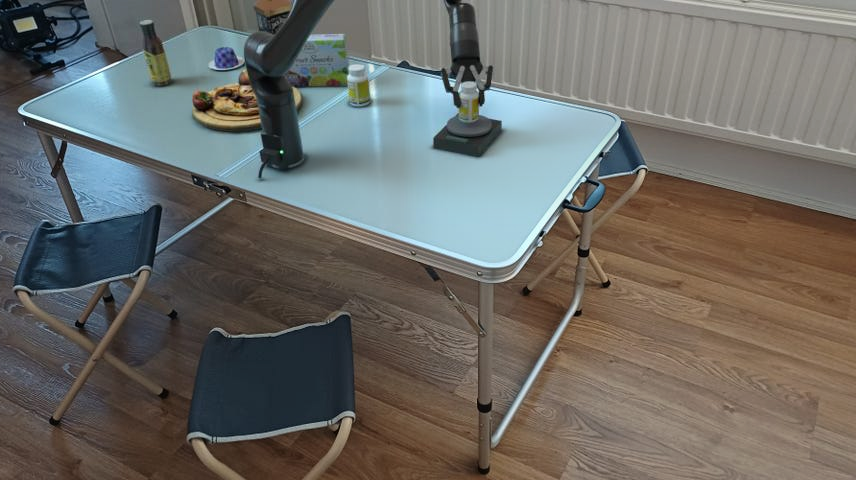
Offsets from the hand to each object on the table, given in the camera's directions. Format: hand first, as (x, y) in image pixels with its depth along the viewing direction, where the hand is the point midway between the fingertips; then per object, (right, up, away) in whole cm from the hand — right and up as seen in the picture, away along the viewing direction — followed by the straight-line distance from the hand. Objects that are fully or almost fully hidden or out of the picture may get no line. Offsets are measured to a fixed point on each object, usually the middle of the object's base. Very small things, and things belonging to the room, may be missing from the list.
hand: (469, 106), depth 189 cm
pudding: (-79, +26, +55) cm, 99 cm away
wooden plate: (-64, +5, +27) cm, 70 cm away
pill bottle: (-31, +7, +28) cm, 42 cm away
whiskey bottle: (-60, +26, +54) cm, 85 cm away
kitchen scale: (0, -7, +7) cm, 10 cm away
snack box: (-46, +16, +40) cm, 63 cm away
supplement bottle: (0, -2, +4) cm, 5 cm away
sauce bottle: (-96, +17, +44) cm, 107 cm away
